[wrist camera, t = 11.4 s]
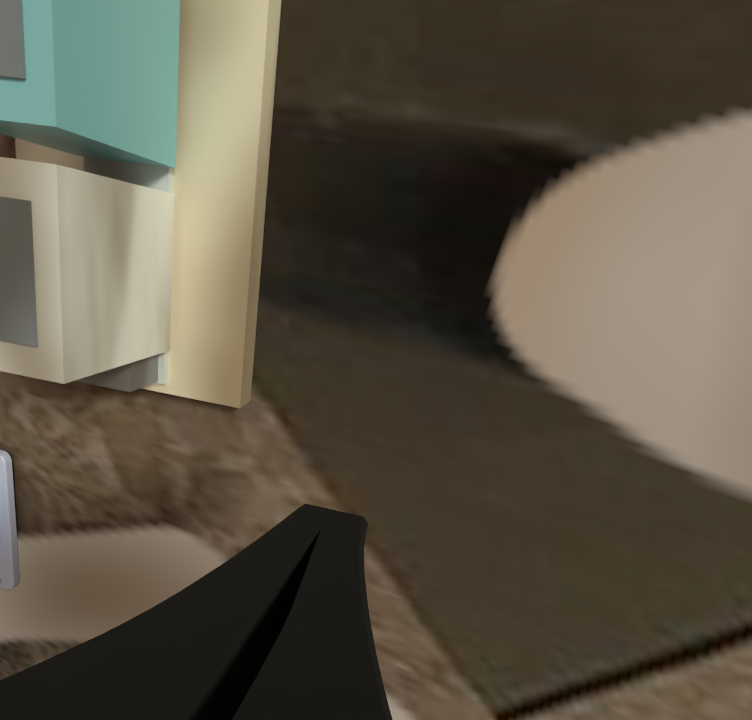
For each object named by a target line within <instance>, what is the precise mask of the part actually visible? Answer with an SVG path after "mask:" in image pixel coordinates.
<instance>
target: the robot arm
mask: <svg viewBox="0 0 752 720" xmlns="http://www.w3.org/2000/svg"><path fill="white" fill-rule="evenodd" d="M367 526H368V523H367V521H366V520H365V518H364V517H362V516H358V515H353V514H349V513H344V512H340V511H336V510H331V509H327V508H322V507H318V506H313V505H309V504H304V505H303V506H301V507H299V508H298V509H297V510H296V511H294V512H293V513H292V514H290V515H289V516H288V517H286V518H285V519H284V520H283V521H281V522H280V523H279V524H277V525H276V526H275V527H273V528H272V529H271V530H269V531H268V532H267V533H265V534H264V535H263V536H261V537H260V538H259V539H257V540H256V541H255V542H253V543H252V544H250V545H249V546H248V547H246V548H245V549H243V550H242V551H241V552H239V553H238V554H236V555H235V556H234V557H232V558H231V559H229V560H228V561H226V562H225V563H224V564H222V565H221V566H219V567H218V568H216V569H214V570H213V571H211V572H210V573H208V574H207V575H205V576H204V577H202V578H200V579H199V580H197V581H196V582H194V583H193V584H191V585H189V586H188V587H186V588H185V589H183V590H182V591H180V592H178V593H177V594H175V595H173V596H172V597H170V598H168V599H167V600H165V601H163V602H161V603H160V604H158V605H156V606H155V607H153V608H151V609H149V610H147V611H145V612H144V613H142V614H140V615H138V616H136V617H134V618H132V619H130V620H129V621H127V622H125V623H123V624H121V625H120V626H117V627H115V628H113V629H111V630H109V631H107V632H106V633H104V634H102V635H99V636H97V637H95V638H93V639H91V640H88V641H86V642H84V643H82V644H80V645H78V646H75V647H73V648H71V649H69V650H67V651H65V652H63V653H60V654H58V655H56V656H54V657H52V658H50V659H47V660H45V661H43V662H41V663H39V664H37V665H35V666H32V667H30V668H28V669H26V670H24V671H21V672H19V673H17V674H14V675H12V676H10V677H7V678H5V679H2V680H0V720H392V717H391V713H390V710H389V706H388V702H387V698H386V694H385V690H384V686H383V682H382V678H381V673H380V669H379V664H378V660H377V655H376V650H375V645H374V640H373V634H372V628H371V623H370V617H369V610H368V603H367V593H366V584H365V573H364V545H365V538H366V532H367ZM19 581H20V574H19V559H18V544H17V530H16V515H15V500H14V485H13V470H12V459H11V456H10V455H9V454H8V453H7V452H6V451H3V450H0V588H3V589H8V590H10V589H13V588H14V587H15V586H17V585H18V584H19Z"/></svg>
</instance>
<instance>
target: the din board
mask: <svg viewBox="0 0 752 720" xmlns="http://www.w3.org/2000/svg"><path fill="white" fill-rule="evenodd" d="M280 12H281V0H180V21H179V61H178V101H177V141H176V168H168V167H160V166H153V165H145V164H137V163H129V162H121V161H113V160H105V159H97V158H89V157H81V156H76V155H73V154H69V153H66V152H62V151H59V150H55V149H52V148H48V147H45V146H42V145H38V144H35V143H31V142H28V141H24V140H21V139H17V138H15V147H16V159H13V158H5V157H0V371H3V372H8V373H12V374H17V375H22V376H27V377H32V378H37V379H42V380H47V381H51V382H56V383H61V384H65V383H69V382H72V381H77V382H82V383H87V384H92V385H97V386H102V387H107V388H112V389H116V390H121V391H126V392H133V391H135V390H137V389H140V388H141V389H146V390H151V391H156V392H161V393H166V394H171V395H176V396H181V397H186V398H191V399H196V400H201V401H206V402H211V403H216V404H221V405H226V406H231V407H236V408H241V407H242V406H244V405H245V404H247V403H248V402H250V399H251V387H252V374H253V361H254V348H255V335H256V322H257V309H258V296H259V283H260V270H261V257H262V244H263V231H264V218H265V206H266V193H267V180H268V167H269V154H270V141H271V128H272V115H273V102H274V89H275V76H276V63H277V50H278V38H279V25H280Z"/></svg>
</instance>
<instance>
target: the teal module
mask: <svg viewBox="0 0 752 720" xmlns="http://www.w3.org/2000/svg"><path fill="white" fill-rule="evenodd" d="M179 21H180V0H0V134H4V135H7V136H11V137H14V138H17V139H21V140H24V141H28V142H31V143H35V144H38V145H42V146H45V147H48V148H52V149H55V150H59V151H62V152H66V153H69V154H73V155H76V156H81V157H89V158H97V159H105V160H113V161H121V162H129V163H137V164H145V165H153V166H160V167H168V168H176V141H177V101H178V61H179Z"/></svg>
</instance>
